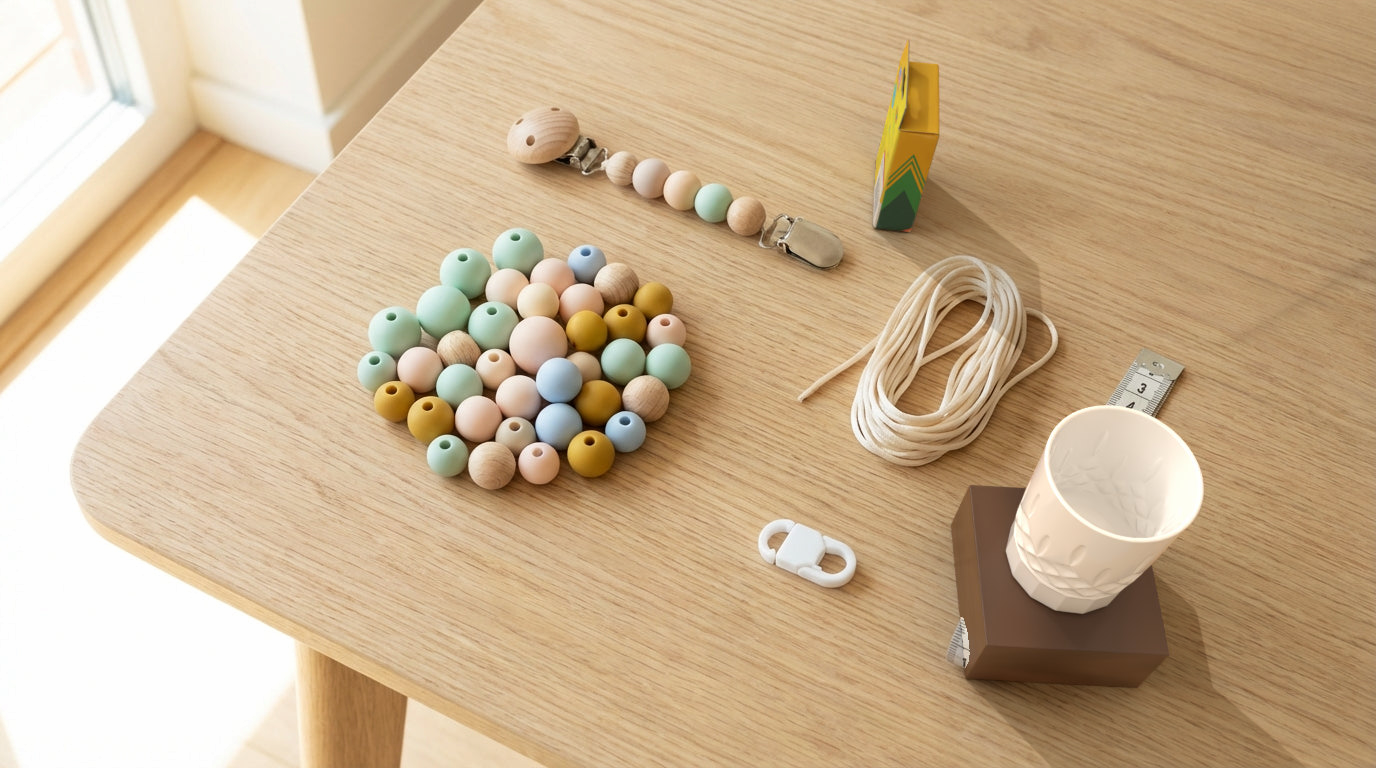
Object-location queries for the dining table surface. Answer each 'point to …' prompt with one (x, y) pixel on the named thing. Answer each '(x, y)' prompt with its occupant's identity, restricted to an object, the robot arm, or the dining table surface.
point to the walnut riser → (1044, 612)
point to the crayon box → (906, 145)
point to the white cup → (1101, 507)
